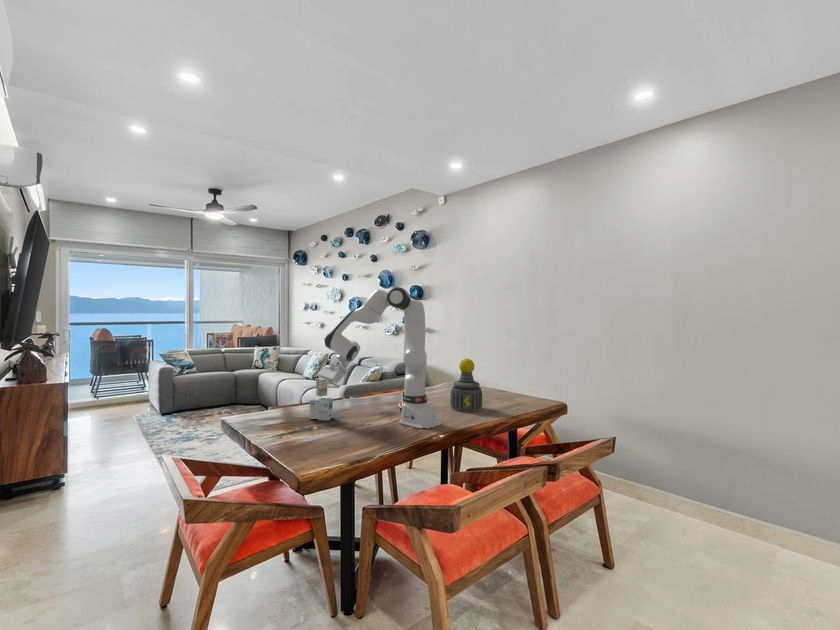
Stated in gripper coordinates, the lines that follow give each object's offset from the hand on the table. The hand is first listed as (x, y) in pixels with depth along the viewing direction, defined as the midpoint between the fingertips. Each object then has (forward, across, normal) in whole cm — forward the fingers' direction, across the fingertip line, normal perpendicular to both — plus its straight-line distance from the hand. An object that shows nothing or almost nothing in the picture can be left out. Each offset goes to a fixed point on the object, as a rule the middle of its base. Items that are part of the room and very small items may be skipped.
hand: (320, 385), depth 223 cm
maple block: (+3, 0, +4) cm, 5 cm away
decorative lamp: (-44, +28, +70) cm, 87 cm away
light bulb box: (+12, 0, +13) cm, 18 cm away
